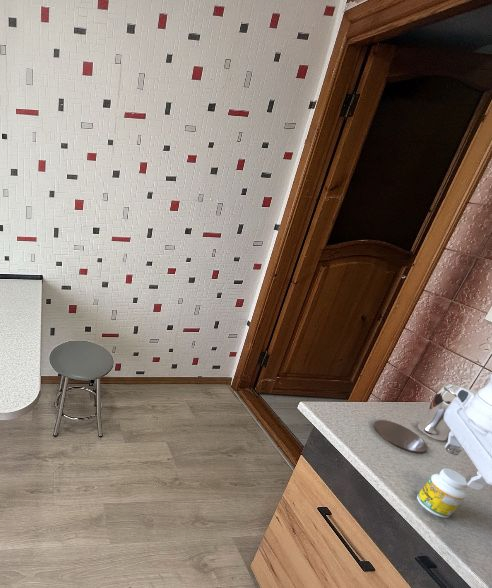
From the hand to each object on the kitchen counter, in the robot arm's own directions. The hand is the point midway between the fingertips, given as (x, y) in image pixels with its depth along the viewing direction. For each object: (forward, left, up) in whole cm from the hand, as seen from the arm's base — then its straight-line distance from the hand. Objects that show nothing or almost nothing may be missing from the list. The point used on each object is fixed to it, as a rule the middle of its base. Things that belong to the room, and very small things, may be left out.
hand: (460, 468), depth 69 cm
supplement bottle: (0, 0, -12) cm, 12 cm away
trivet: (0, -23, -12) cm, 26 cm away
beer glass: (-10, -31, -12) cm, 35 cm away
